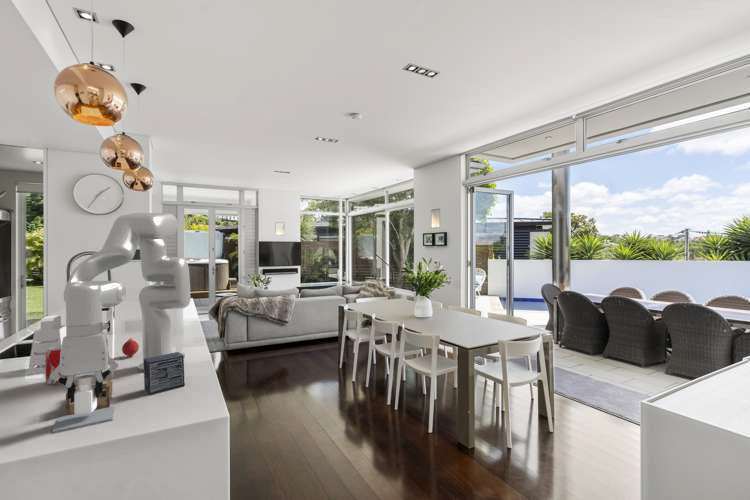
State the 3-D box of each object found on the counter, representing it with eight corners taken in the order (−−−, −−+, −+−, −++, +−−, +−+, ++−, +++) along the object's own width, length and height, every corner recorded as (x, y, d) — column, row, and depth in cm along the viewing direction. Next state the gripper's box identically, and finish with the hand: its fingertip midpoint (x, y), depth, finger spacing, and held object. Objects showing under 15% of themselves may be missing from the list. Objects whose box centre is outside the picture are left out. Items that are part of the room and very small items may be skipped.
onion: (132, 359, 150) (132, 339, 150) (118, 359, 150) (118, 339, 150) (141, 354, 156) (141, 336, 156) (128, 354, 156) (128, 336, 156)
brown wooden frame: (112, 390, 116) (112, 372, 116) (109, 407, 104) (109, 386, 104) (73, 397, 111) (73, 378, 111) (66, 415, 99) (65, 394, 99)
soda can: (56, 386, 121) (56, 350, 120) (39, 385, 122) (39, 349, 122) (78, 379, 127) (77, 345, 127) (61, 377, 129) (61, 344, 129)
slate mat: (114, 407, 104) (114, 406, 104) (112, 420, 96) (112, 418, 96) (59, 419, 97) (59, 417, 97) (52, 433, 90) (52, 431, 90)
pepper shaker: (91, 413, 96) (91, 378, 96) (73, 416, 94) (72, 380, 94) (97, 407, 99) (97, 373, 99) (80, 410, 98) (79, 375, 98)
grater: (27, 375, 132) (26, 320, 132) (40, 366, 141) (39, 315, 141) (63, 371, 136) (62, 318, 136) (73, 363, 146) (73, 313, 145)
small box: (179, 381, 125) (178, 350, 125) (185, 386, 120) (184, 354, 120) (143, 390, 117) (143, 357, 117) (148, 395, 113) (148, 362, 112)
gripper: (123, 324, 105) (124, 387, 105) (45, 331, 95) (46, 401, 95) (122, 328, 98) (123, 395, 98) (38, 337, 89) (40, 411, 89)
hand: (85, 397), depth 97 cm, fingers closed on pepper shaker, 4 cm apart
